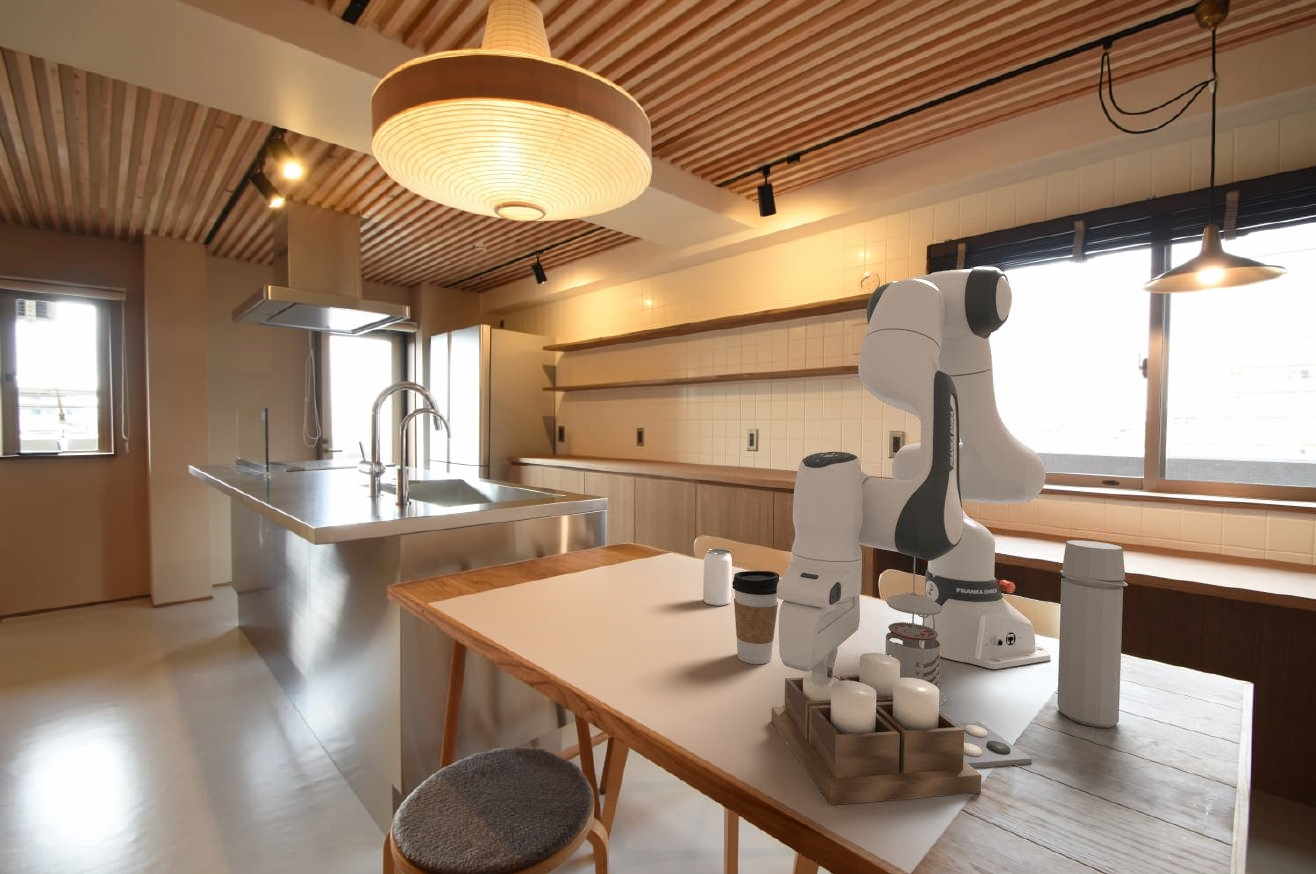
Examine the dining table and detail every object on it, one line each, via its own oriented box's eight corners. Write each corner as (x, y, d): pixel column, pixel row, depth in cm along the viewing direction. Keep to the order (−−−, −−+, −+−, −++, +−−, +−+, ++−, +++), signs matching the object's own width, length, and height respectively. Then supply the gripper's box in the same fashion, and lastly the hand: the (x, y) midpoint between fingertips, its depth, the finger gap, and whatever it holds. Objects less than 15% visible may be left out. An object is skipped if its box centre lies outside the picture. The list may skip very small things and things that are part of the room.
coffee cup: (778, 669, 97) (781, 581, 97) (728, 664, 99) (730, 577, 99) (778, 651, 105) (780, 569, 105) (732, 646, 107) (734, 566, 107)
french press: (866, 690, 90) (871, 531, 90) (897, 670, 98) (901, 524, 98) (931, 713, 83) (936, 540, 83) (959, 689, 91) (964, 532, 91)
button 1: (831, 709, 78) (832, 673, 78) (848, 728, 73) (850, 689, 73) (796, 711, 78) (797, 674, 78) (811, 731, 73) (812, 691, 73)
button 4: (921, 716, 72) (922, 676, 72) (947, 737, 67) (948, 695, 67) (884, 718, 71) (885, 678, 71) (907, 740, 66) (909, 697, 66)
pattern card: (979, 726, 80) (979, 719, 80) (1031, 763, 71) (1031, 756, 71) (920, 729, 78) (920, 723, 78) (965, 768, 69) (965, 760, 69)
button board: (891, 714, 83) (892, 669, 82) (981, 792, 65) (982, 735, 65) (771, 721, 80) (772, 674, 80) (830, 805, 62) (832, 745, 62)
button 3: (885, 688, 80) (886, 652, 80) (907, 705, 75) (908, 666, 75) (852, 689, 79) (853, 653, 79) (871, 707, 74) (872, 668, 74)
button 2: (861, 720, 70) (862, 679, 70) (883, 742, 66) (885, 698, 65) (822, 722, 70) (824, 681, 70) (842, 745, 65) (843, 700, 65)
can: (698, 599, 137) (700, 549, 137) (723, 597, 139) (725, 548, 139) (709, 607, 131) (710, 554, 131) (735, 605, 133) (736, 553, 133)
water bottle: (1095, 734, 78) (1101, 551, 78) (1042, 707, 86) (1047, 540, 85) (1144, 726, 81) (1150, 548, 80) (1088, 701, 88) (1093, 538, 88)
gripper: (829, 559, 86) (826, 652, 86) (770, 587, 69) (767, 702, 69) (872, 566, 82) (869, 663, 82) (821, 597, 65) (818, 719, 65)
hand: (822, 682), depth 75 cm, fingers closed, pressing on button 1
